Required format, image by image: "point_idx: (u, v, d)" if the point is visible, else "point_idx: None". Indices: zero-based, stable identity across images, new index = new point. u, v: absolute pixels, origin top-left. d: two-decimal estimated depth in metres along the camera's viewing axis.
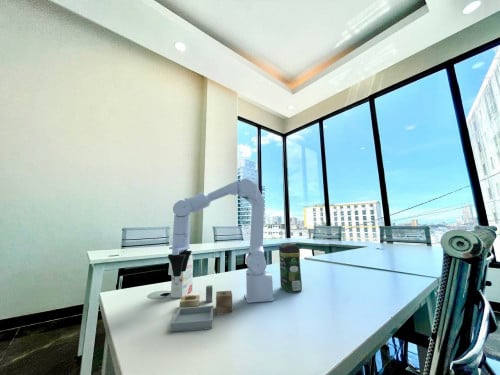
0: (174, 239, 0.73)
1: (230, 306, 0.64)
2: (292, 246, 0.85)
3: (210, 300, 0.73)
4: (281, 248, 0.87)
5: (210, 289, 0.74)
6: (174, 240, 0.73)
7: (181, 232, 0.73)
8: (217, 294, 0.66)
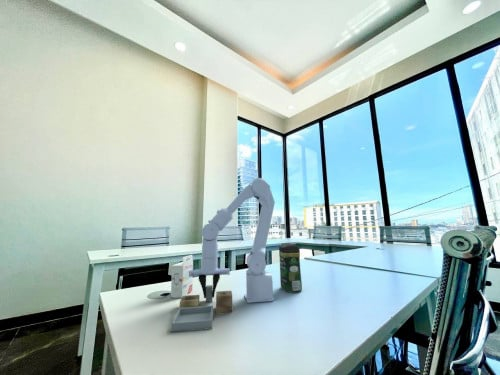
0: None
1: (230, 306, 0.64)
2: (292, 246, 0.85)
3: (210, 300, 0.73)
4: (281, 248, 0.87)
5: (210, 289, 0.74)
6: None
7: (210, 256, 0.74)
8: (217, 294, 0.66)
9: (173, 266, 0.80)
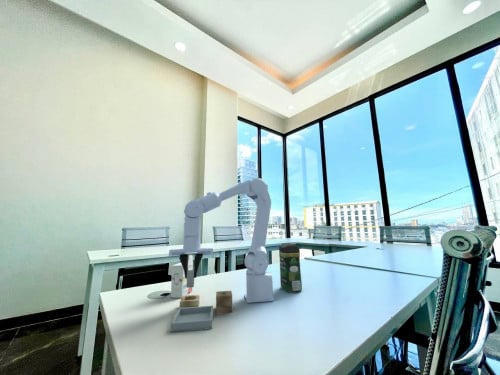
0: None
1: (230, 306, 0.64)
2: (292, 246, 0.85)
3: (191, 285, 0.68)
4: (281, 248, 0.87)
5: (191, 273, 0.69)
6: None
7: (194, 234, 0.70)
8: (217, 294, 0.66)
9: (173, 266, 0.80)
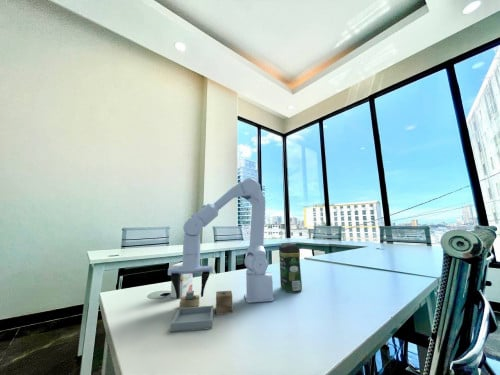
0: None
1: (230, 306, 0.64)
2: (292, 246, 0.85)
3: None
4: (281, 248, 0.87)
5: (190, 295, 0.67)
6: None
7: (193, 252, 0.69)
8: (217, 294, 0.66)
9: (173, 266, 0.80)
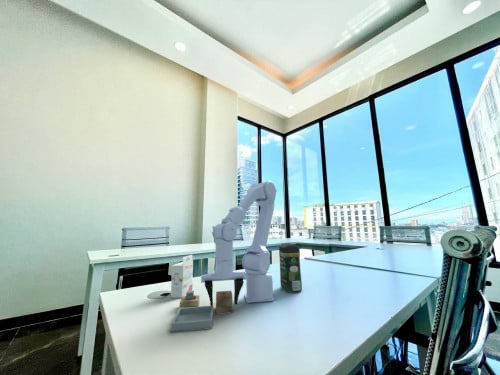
0: None
1: (230, 306, 0.64)
2: (292, 246, 0.85)
3: None
4: (281, 248, 0.87)
5: (190, 295, 0.67)
6: None
7: (230, 258, 0.67)
8: (217, 294, 0.66)
9: (173, 266, 0.80)
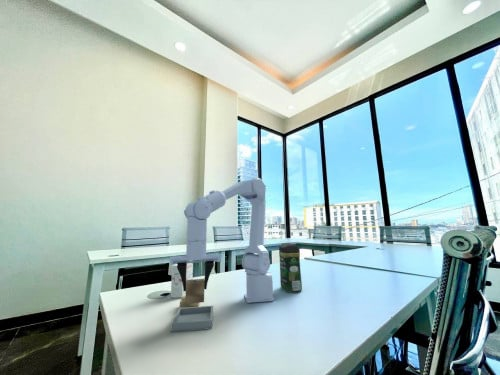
0: None
1: (202, 295, 0.58)
2: (292, 246, 0.85)
3: None
4: (281, 248, 0.87)
5: None
6: None
7: (203, 238, 0.61)
8: (187, 282, 0.59)
9: (173, 266, 0.80)
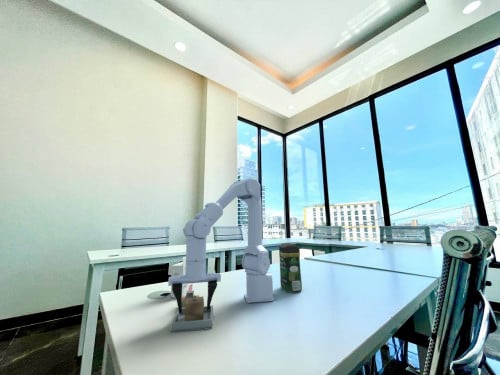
0: None
1: (201, 314, 0.57)
2: (292, 246, 0.85)
3: None
4: (281, 248, 0.87)
5: (190, 295, 0.67)
6: None
7: (202, 258, 0.60)
8: (187, 301, 0.58)
9: (173, 266, 0.80)
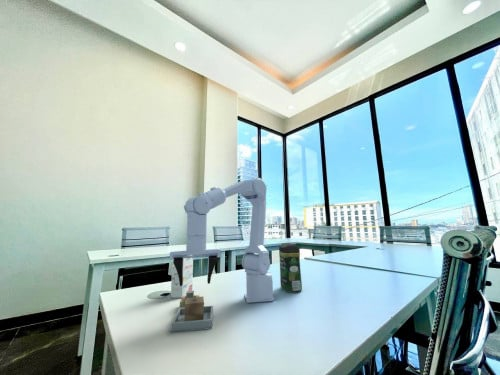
0: None
1: (201, 314, 0.57)
2: (292, 246, 0.85)
3: None
4: (281, 248, 0.87)
5: (190, 295, 0.67)
6: None
7: (202, 233, 0.61)
8: (187, 301, 0.58)
9: (173, 266, 0.80)
